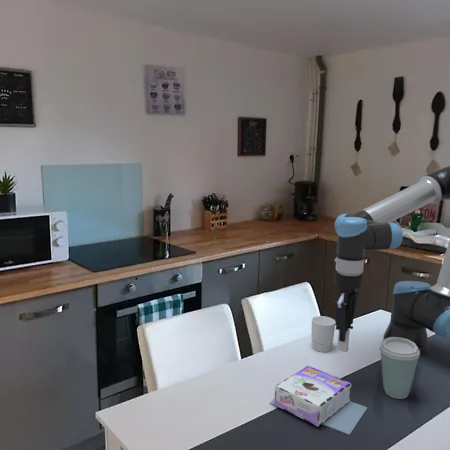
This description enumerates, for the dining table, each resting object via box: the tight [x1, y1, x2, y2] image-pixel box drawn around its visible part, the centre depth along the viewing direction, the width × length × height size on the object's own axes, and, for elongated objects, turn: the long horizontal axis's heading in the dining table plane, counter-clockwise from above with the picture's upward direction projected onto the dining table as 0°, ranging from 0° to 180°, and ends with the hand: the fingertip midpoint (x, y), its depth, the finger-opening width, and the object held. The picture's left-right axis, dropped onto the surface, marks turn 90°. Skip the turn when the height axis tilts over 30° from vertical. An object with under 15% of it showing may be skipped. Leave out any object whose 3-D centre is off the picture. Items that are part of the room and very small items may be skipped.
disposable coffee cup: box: [379, 337, 421, 400], centre depth 129 cm, size 11×11×15 cm
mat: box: [269, 397, 368, 436], centre depth 123 cm, size 14×22×1 cm, turn 56°
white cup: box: [311, 315, 336, 353], centre depth 156 cm, size 8×8×10 cm
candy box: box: [273, 365, 352, 427], centre depth 123 cm, size 14×6×16 cm
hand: (342, 350), depth 133 cm, fingers closed
